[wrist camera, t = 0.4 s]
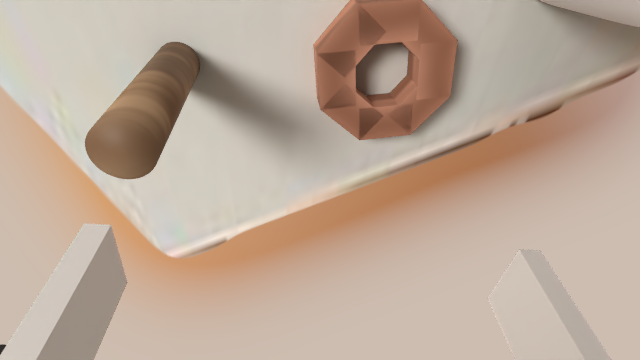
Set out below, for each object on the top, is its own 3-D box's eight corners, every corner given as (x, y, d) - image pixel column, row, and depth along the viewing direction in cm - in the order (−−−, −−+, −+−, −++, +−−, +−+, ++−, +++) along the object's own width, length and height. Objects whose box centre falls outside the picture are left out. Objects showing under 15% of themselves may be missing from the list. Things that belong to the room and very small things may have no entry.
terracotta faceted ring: (310, 1, 32) (314, 8, 30) (449, -11, 33) (463, -5, 31) (319, 130, 39) (322, 144, 36) (434, 118, 40) (445, 130, 37)
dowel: (151, 43, 33) (73, 123, 19) (194, 40, 33) (146, 115, 20) (163, 84, 35) (100, 182, 21) (203, 80, 35) (166, 175, 22)
